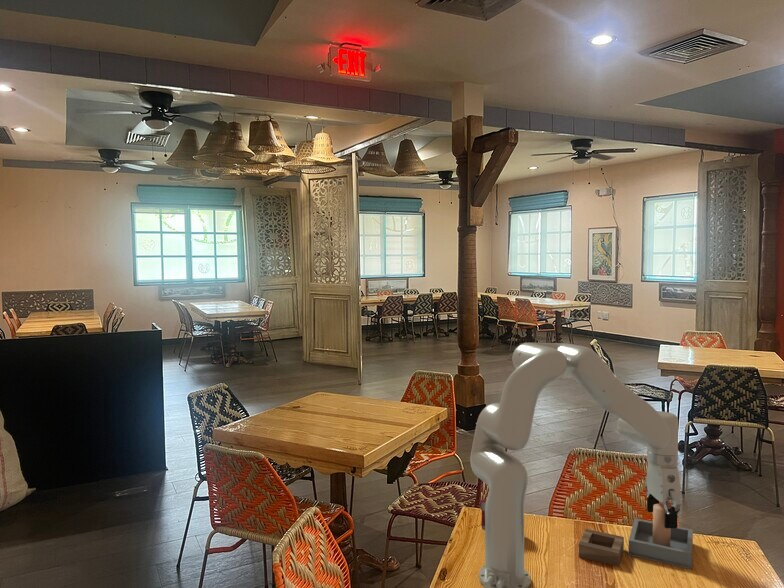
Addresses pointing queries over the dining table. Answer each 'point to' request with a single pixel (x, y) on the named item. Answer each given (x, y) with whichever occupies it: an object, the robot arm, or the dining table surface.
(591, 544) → the collar block
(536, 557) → the dining table surface
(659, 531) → the dowel
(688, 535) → the tray
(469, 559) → the dining table surface
